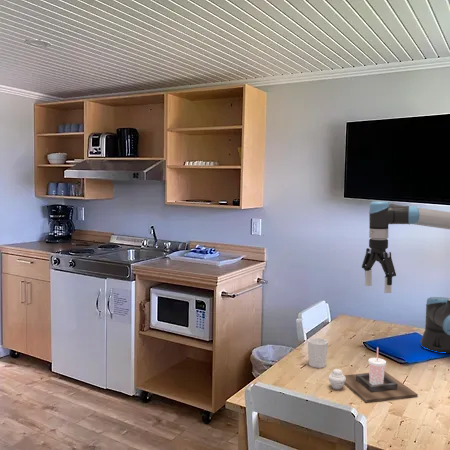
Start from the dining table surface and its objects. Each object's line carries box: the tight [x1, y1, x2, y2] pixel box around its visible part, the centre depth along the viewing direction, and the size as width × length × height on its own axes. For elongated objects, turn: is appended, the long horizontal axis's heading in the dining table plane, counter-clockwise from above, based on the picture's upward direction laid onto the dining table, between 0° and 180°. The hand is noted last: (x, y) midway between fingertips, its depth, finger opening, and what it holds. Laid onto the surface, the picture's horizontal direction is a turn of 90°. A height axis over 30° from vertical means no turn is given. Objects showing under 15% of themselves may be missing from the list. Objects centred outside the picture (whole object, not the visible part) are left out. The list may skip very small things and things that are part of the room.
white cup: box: [307, 337, 328, 369], centre depth 189 cm, size 8×8×10 cm
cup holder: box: [343, 370, 419, 404], centre depth 169 cm, size 20×20×3 cm
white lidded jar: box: [328, 368, 346, 390], centre depth 168 cm, size 6×6×7 cm
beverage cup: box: [367, 346, 387, 385], centre depth 168 cm, size 6×6×14 cm
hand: (377, 289), depth 194 cm, fingers open, 13 cm apart
